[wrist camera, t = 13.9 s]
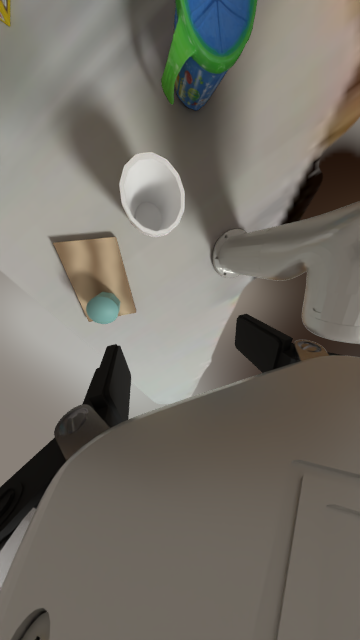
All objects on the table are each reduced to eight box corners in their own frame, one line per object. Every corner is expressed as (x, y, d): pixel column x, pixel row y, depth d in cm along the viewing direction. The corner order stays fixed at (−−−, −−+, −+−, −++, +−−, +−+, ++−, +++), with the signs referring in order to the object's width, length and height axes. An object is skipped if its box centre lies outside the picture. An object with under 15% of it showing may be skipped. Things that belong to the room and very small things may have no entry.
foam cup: (118, 220, 30) (105, 198, 19) (141, 180, 29) (143, 129, 17) (154, 251, 35) (162, 248, 23) (176, 217, 33) (196, 197, 22)
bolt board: (116, 237, 31) (112, 234, 27) (136, 310, 39) (135, 318, 34) (56, 243, 29) (40, 240, 24) (90, 319, 37) (83, 328, 32)
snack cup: (175, 147, 28) (192, 96, 19) (138, 69, 23) (137, -51, 14) (236, 91, 27) (284, 10, 18) (211, -4, 22) (260, -180, 13)
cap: (92, 313, 34) (85, 322, 30) (93, 289, 32) (86, 294, 28) (119, 317, 36) (116, 325, 32) (122, 294, 34) (119, 299, 30)
